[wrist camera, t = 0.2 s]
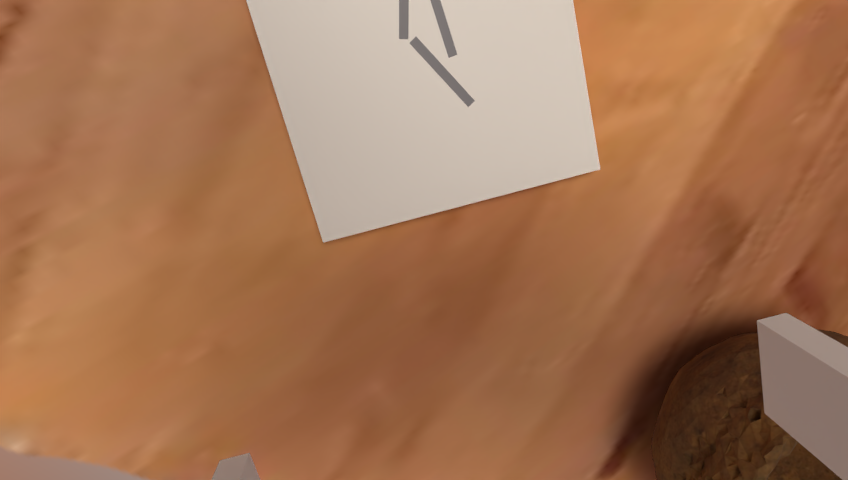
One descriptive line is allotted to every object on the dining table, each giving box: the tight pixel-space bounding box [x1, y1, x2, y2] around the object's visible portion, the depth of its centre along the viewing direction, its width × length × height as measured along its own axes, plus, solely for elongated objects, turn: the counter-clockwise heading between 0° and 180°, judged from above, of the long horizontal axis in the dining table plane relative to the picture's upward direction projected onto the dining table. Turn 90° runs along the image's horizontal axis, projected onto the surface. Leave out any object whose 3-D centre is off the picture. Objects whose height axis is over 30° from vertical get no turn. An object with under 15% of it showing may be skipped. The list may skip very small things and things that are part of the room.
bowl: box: [651, 330, 848, 480], centre depth 40 cm, size 19×19×15 cm
